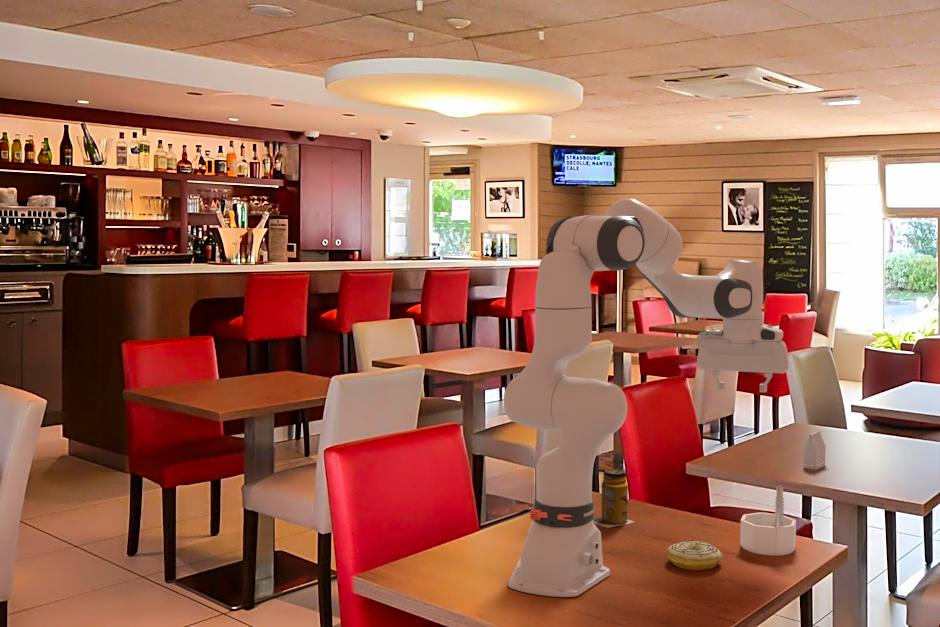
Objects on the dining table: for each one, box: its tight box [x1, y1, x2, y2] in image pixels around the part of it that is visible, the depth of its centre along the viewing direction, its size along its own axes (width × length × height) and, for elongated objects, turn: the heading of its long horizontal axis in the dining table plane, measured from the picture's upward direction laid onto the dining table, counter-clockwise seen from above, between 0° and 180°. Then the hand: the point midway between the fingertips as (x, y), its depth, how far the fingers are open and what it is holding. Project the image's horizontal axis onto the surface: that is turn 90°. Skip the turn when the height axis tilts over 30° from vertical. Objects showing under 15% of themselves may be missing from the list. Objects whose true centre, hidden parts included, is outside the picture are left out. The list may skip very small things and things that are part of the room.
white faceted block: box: [803, 431, 826, 471], centre depth 278 cm, size 4×7×10 cm, turn 139°
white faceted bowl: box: [739, 511, 797, 557], centre depth 205 cm, size 11×11×6 cm
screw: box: [774, 484, 785, 527], centre depth 204 cm, size 13×5×5 cm
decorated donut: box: [667, 540, 723, 571], centre depth 195 cm, size 10×11×4 cm
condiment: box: [593, 468, 635, 529], centre depth 225 cm, size 7×8×12 cm
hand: (741, 390), depth 221 cm, fingers open, 8 cm apart
